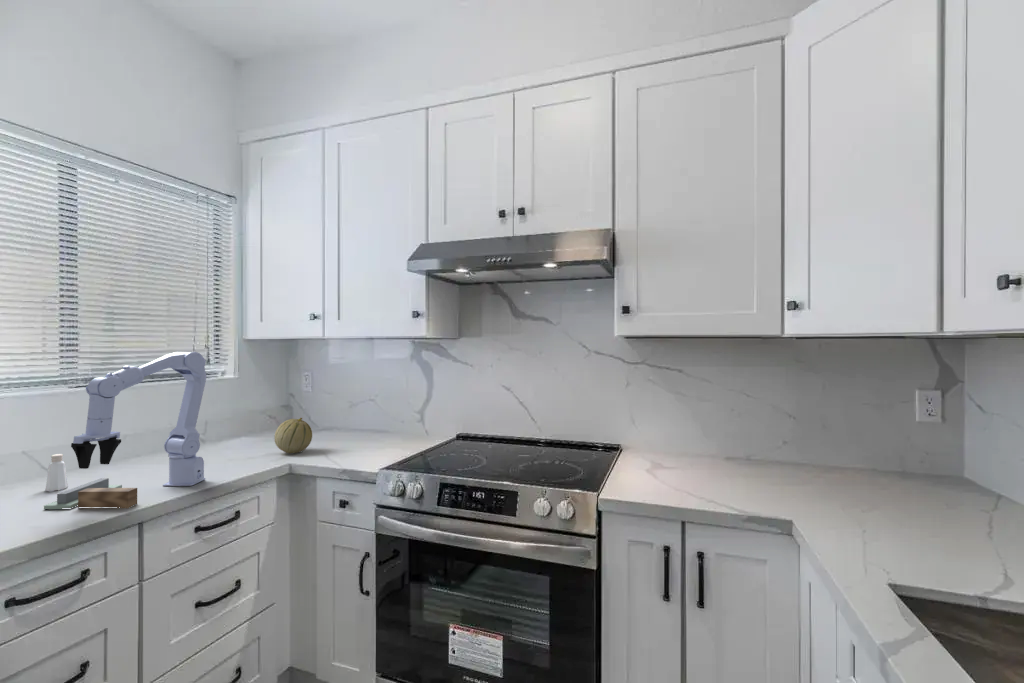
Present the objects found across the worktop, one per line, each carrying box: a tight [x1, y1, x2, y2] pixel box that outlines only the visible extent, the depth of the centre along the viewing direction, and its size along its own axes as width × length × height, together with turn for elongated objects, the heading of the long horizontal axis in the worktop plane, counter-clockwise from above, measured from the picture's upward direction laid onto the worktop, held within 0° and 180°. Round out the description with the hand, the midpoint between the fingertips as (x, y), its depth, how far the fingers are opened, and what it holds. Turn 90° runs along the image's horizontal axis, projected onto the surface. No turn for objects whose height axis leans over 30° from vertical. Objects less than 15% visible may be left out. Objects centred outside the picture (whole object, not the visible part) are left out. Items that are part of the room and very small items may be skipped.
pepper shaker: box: [44, 453, 69, 492], centre depth 159 cm, size 5×5×11 cm
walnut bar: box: [77, 487, 138, 509], centre depth 142 cm, size 14×4×5 cm, turn 91°
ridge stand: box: [43, 477, 123, 510], centre depth 149 cm, size 7×20×4 cm, turn 3°
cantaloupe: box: [273, 417, 313, 454], centre depth 211 cm, size 15×15×15 cm
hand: (94, 466), depth 142 cm, fingers open, 7 cm apart
